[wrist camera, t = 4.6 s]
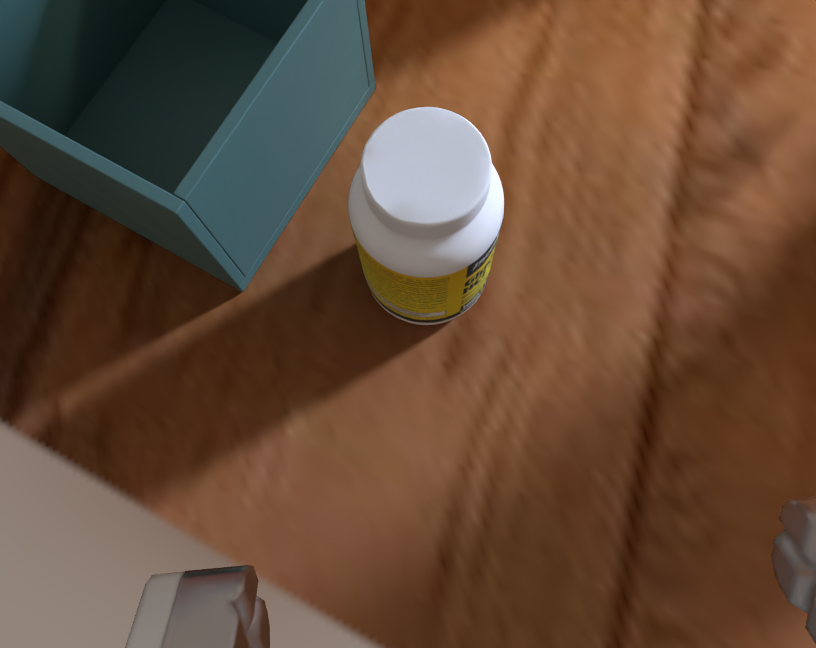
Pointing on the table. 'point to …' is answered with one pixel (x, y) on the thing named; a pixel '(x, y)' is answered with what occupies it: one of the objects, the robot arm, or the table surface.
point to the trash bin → (184, 112)
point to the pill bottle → (426, 214)
